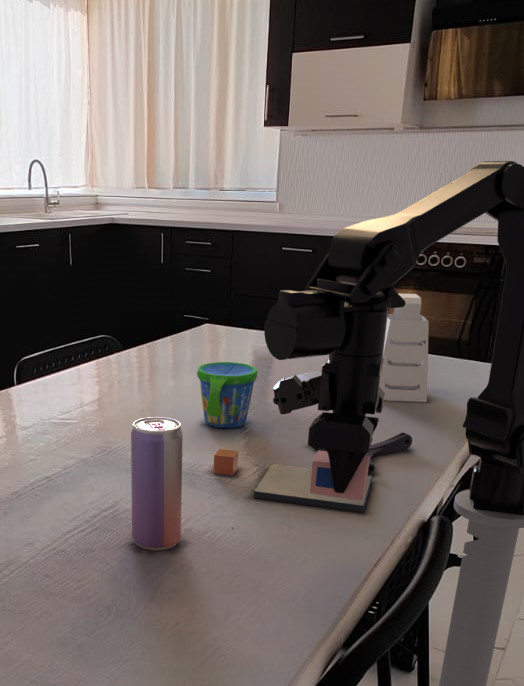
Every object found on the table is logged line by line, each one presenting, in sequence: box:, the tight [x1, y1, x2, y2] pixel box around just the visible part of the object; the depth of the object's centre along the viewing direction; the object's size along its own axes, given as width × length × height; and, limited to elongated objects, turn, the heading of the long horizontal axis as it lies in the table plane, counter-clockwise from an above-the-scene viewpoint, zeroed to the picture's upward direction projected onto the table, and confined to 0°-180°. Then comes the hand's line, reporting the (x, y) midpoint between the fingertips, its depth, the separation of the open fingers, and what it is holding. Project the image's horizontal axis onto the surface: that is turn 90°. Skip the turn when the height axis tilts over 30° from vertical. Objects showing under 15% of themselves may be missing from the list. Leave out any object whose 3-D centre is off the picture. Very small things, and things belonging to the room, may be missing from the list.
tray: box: [253, 463, 373, 513], centre depth 110 cm, size 15×12×1 cm
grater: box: [379, 293, 430, 403], centre depth 156 cm, size 10×10×20 cm
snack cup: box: [196, 361, 258, 429], centre depth 138 cm, size 16×10×10 cm
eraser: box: [310, 450, 370, 500], centre depth 89 cm, size 6×4×4 cm
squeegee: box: [316, 432, 413, 475], centre depth 125 cm, size 14×15×3 cm
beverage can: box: [130, 416, 184, 552], centre depth 91 cm, size 6×6×15 cm
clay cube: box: [213, 448, 239, 477], centre depth 117 cm, size 3×3×3 cm
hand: (341, 485), depth 89 cm, fingers closed on eraser, 4 cm apart
